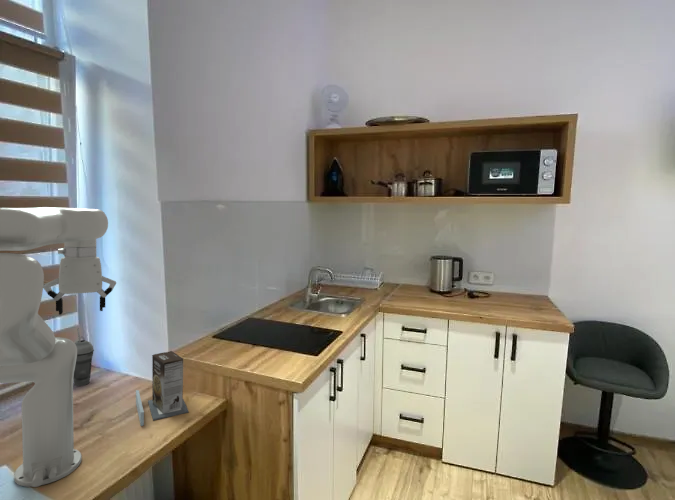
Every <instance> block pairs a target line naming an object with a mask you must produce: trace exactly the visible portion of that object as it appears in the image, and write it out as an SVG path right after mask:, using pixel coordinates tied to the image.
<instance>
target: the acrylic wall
mask: <svg viewBox="0 0 675 500" xmlns="http://www.w3.org/2000/svg"><path fill="white" fill-rule="evenodd" d="M135 405H136V410H137V415H138V419H139V420H138V421H139V425H140V427H143V426H145V423H144V422H145V420H144V419H145V418H144V417H145V415H144V414H145V411H144V407H143V403H142V399H141V394H140V390H139V389H136V390H135Z"/></svg>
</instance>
